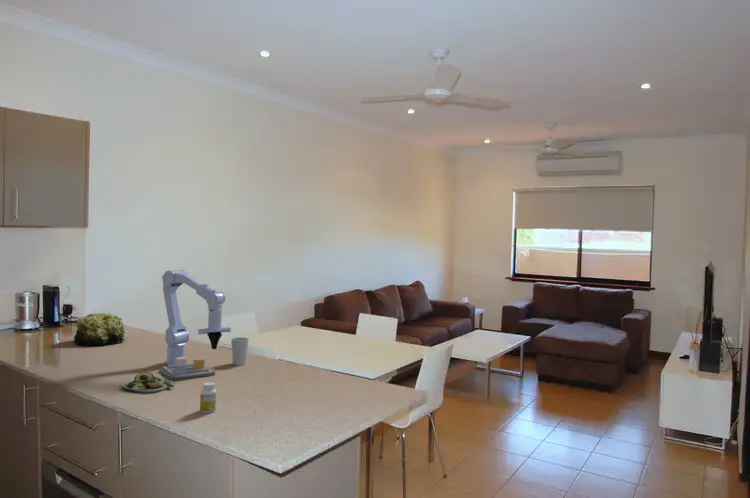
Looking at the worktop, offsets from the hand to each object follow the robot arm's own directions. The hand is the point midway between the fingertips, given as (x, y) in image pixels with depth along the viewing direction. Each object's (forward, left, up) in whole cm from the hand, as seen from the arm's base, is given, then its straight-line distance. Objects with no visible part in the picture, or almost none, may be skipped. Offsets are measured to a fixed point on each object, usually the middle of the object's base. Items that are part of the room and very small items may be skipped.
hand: (214, 348), depth 252 cm
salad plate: (+12, -32, -10) cm, 36 cm away
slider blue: (+6, -17, -9) cm, 20 cm away
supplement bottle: (+52, -22, -10) cm, 58 cm away
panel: (-1, -12, -10) cm, 15 cm away
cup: (-7, +15, -10) cm, 20 cm away
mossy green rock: (-85, -31, -10) cm, 91 cm away
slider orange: (0, -7, -9) cm, 11 cm away
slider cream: (-6, -13, -9) cm, 17 cm away
